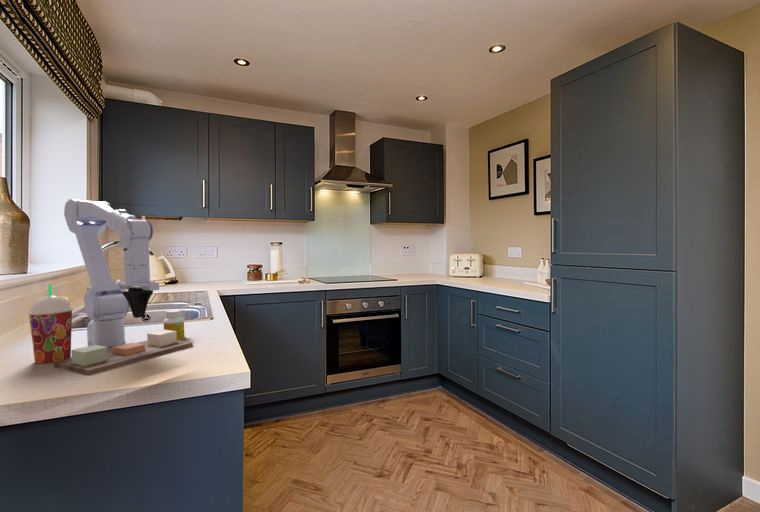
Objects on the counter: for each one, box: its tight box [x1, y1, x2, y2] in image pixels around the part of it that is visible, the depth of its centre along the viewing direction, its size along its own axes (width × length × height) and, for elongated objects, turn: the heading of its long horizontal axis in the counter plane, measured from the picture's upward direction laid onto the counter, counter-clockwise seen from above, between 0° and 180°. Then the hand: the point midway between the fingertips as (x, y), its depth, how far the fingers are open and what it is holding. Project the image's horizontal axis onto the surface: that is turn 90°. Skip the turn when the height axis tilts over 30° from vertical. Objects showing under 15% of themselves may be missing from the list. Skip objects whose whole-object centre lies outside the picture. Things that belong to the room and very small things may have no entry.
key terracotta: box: [112, 342, 145, 356], centre depth 101 cm, size 5×5×4 cm
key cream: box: [146, 329, 177, 347], centre depth 109 cm, size 5×5×4 cm
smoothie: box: [28, 284, 74, 365], centre depth 98 cm, size 8×8×20 cm
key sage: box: [71, 345, 109, 366], centre depth 93 cm, size 5×5×4 cm
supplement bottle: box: [163, 309, 185, 341], centre depth 119 cm, size 5×5×10 cm
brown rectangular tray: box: [53, 339, 194, 376], centre depth 101 cm, size 14×26×2 cm, turn 154°
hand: (139, 317), depth 105 cm, fingers closed
